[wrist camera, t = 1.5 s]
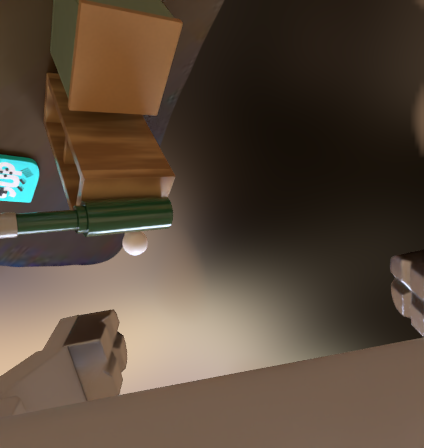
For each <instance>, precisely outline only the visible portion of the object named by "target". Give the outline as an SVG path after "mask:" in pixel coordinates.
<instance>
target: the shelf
mask: <svg viewBox="0 0 424 448" xmlns="http://www.w3.org/2000/svg"><path fill="white" fill-rule="evenodd" d="M44 126H45V129H46V132H47V136H48V139H49V142H50V146H51V149H52V152H53V155H54V159H55V162H56V165H57V168H58V172H59V175H60V178H61V182H62V185H63V188H64V191H65V195H66V198H67V201H68V205H69V208H70V210H73V207H74V206H77V205H80V204H81V202H82V201H91V200H109V199H126V198H144V197H161V196H166V197H167V198H168V195H169V193H170V190H171V187H172V184H173V181H174V178H175V175H174V173H173V171H172V169H171V168H170V166H169V164H168V162H167V160H166V158H165V157H164V155H163V153H162V151H161V149H160V147H159V145H158V144H157V142H156V140H155V138H154V136H153V134H152V133H151V131H150V129H149V127H148V125H147V123H146V122H145V120H144V118H143V116H142V115H141V114H123V113H106V112H89V111H72V110H69V108H68V97H67V94H66V91H65V89H64V86H63V84H62V81H61V78H60V76H59V74H56V73H47V74H46V90H45V106H44Z"/></svg>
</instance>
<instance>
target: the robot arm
mask: <svg viewBox="0 0 424 448" xmlns="http://www.w3.org/2000/svg"><path fill="white" fill-rule="evenodd" d="M390 271H391V272H392V273H393V274H394V275H395V276H396V278H395V279H394V281H393V283H392V284H391V290H392V297H393V301H394V304H395V306H396V308H397V309H398V311H399V312H400V313H401V314H402V315H403V316H405V317H408V318H411V320H412V326H413V327H414V328H416V330H417V331H418V332H419V333H420V334H421V335H423V337H424V250H420V251H415V252H410V253H406V254H401V255H396V256H394V257H392V258H391V262H390ZM118 326H119V320H118V317H117V314H116V312H115V311H114V310H108V311H101V312H96V313H90V314H84V315H77V316H72V317H67V318H63V319H61V320H60V321H59V323H58V325H57V327H56V328H55V330H54V332H53V333H52V335H51V337H50V338H49V340H48V342H47V344H46V345H45V347H44V349H43V350H42V351H38V352H36V353H34V354H33V355H31V356H30V357H28V358H27V359H25V360H24V361H23V362H21V363H20V364H18V365H17V366H15V367H14V368H12V369H11V370H9V371H8V372H6V373H5V374H3V375H2V376H0V448H424V338H420V339H414V340H409V341H404V342H399V343H393V344H388V345H383V346H378V347H372V348H367V349H362V350H357V351H352V352H346V353H341V354H335V355H330V356H325V357H320V358H314V359H309V360H303V361H298V362H293V363H288V364H282V365H277V366H272V367H266V368H261V369H256V370H250V371H245V372H240V373H235V374H229V375H224V376H219V377H213V378H208V379H203V380H197V381H193V382H187V383H181V384H176V385H171V386H165V387H160V388H155V389H150V390H144V391H139V392H134V393H129V394H123V395H119V393H120V389H121V385H122V381H123V378H122V375H121V372H122V371H123V370H124V369H125V368H126V364H127V349H126V343H125V340H124V336H123V335H122V334H120V333H119V332H118V331H117V330H118Z"/></svg>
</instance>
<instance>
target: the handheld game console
mask: <svg viewBox="0 0 424 448" xmlns="http://www.w3.org/2000/svg"><path fill="white" fill-rule="evenodd" d="M38 178H39V169H38V165H37V163H36V162H35V161H34V160H33V159H31V158H25V157H17V156H10V155H2V154H0V201H14V202H31V200H32V197H33V194H34V191H35V188H36V185H37V182H38Z"/></svg>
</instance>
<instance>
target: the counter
mask: <svg viewBox="0 0 424 448" xmlns="http://www.w3.org/2000/svg"><path fill="white" fill-rule="evenodd" d="M182 25H183V22H182V21H181V20H180V19H176V18H174V17H173V15H172V14H171V13H170V12H169V10H168V9H167V8H166V7H165V6H164V4H163V3H162V2H161V1H160V0H53V15H52V30H51V45H50V52H51V55H52V58H53V60H54V63H55V65H56V68H57V71H58V73H59V76H60V78H61V81H62V84H63V86H64V89H65V91H66V94H67V97H68V108H69V110H72V111H89V112H106V113H123V114H141V115H157V113H158V110H159V106H160V103H161V99H162V96H163V92H164V89H165V85H166V82H167V78H168V74H169V71H170V67H171V64H172V60H173V57H174V53H175V50H176V46H177V43H178V39H179V36H180V32H181V29H182Z"/></svg>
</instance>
